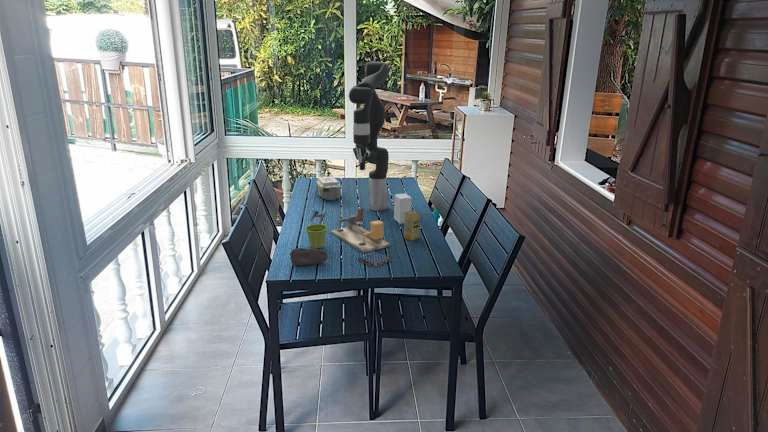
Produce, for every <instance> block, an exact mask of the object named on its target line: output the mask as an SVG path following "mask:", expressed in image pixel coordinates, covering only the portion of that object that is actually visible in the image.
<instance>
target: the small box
mask: <svg viewBox="0 0 768 432" xmlns="http://www.w3.org/2000/svg"><path fill="white" fill-rule="evenodd" d="M393 197H394V199H393V200H394V201H393V219H394V220H395V221H396V222H397V223H398V224H399V225H401V224H403V225H404V214H405V213H406V212H409V211H413V210H412V209H413V208H412V207H413V206H412V205H413V202H412V201H413V197H411V196H410V195H408V194H407V193H397V194H396V193H395V194H394V195H393Z"/></svg>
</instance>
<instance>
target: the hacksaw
mask: <svg viewBox="0 0 768 432" xmlns="http://www.w3.org/2000/svg"><path fill="white" fill-rule="evenodd" d="M318 213H319V211H318V210H314V212H313V215H312V216H311V218H310V220H309V223H310V222H313V221H314V219H315V217H320V218H319V222H318V224H322V225H324V224H323V220H324V217H325V214H326V215H328V213H327V212H325V213H324V212H322V213H321V214H318ZM326 226H327V228H329V227H328V225H326Z"/></svg>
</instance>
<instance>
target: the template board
mask: <svg viewBox="0 0 768 432" xmlns="http://www.w3.org/2000/svg"><path fill="white" fill-rule="evenodd" d="M356 219H357V215H355V214H352V215H351V214H350V215H347V217H345V218H340V219H339V218H338V228H337V229H332V230H331V234H333V235H334V236H335V237H337V238H339V239H340V240H342V241H343V242H345V243H346V244H348V245H350V246H351V247H352V248H354V249H356V250H358V251H359V252H361V253H362V254H365V253H370V252H373V251H377V250H380V249H384V248H385V249H386V248H389V247H390V246H391V243H390V242H388V241H386V240H384V239H383V238H380V239H376V240H375V239H373V238H371V237H370V235H368V236H365V243H363V233H368V232H370V230H366V229H365V228H363V226H358V225H356ZM342 222H347V225H348V226H346V227H342Z"/></svg>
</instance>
